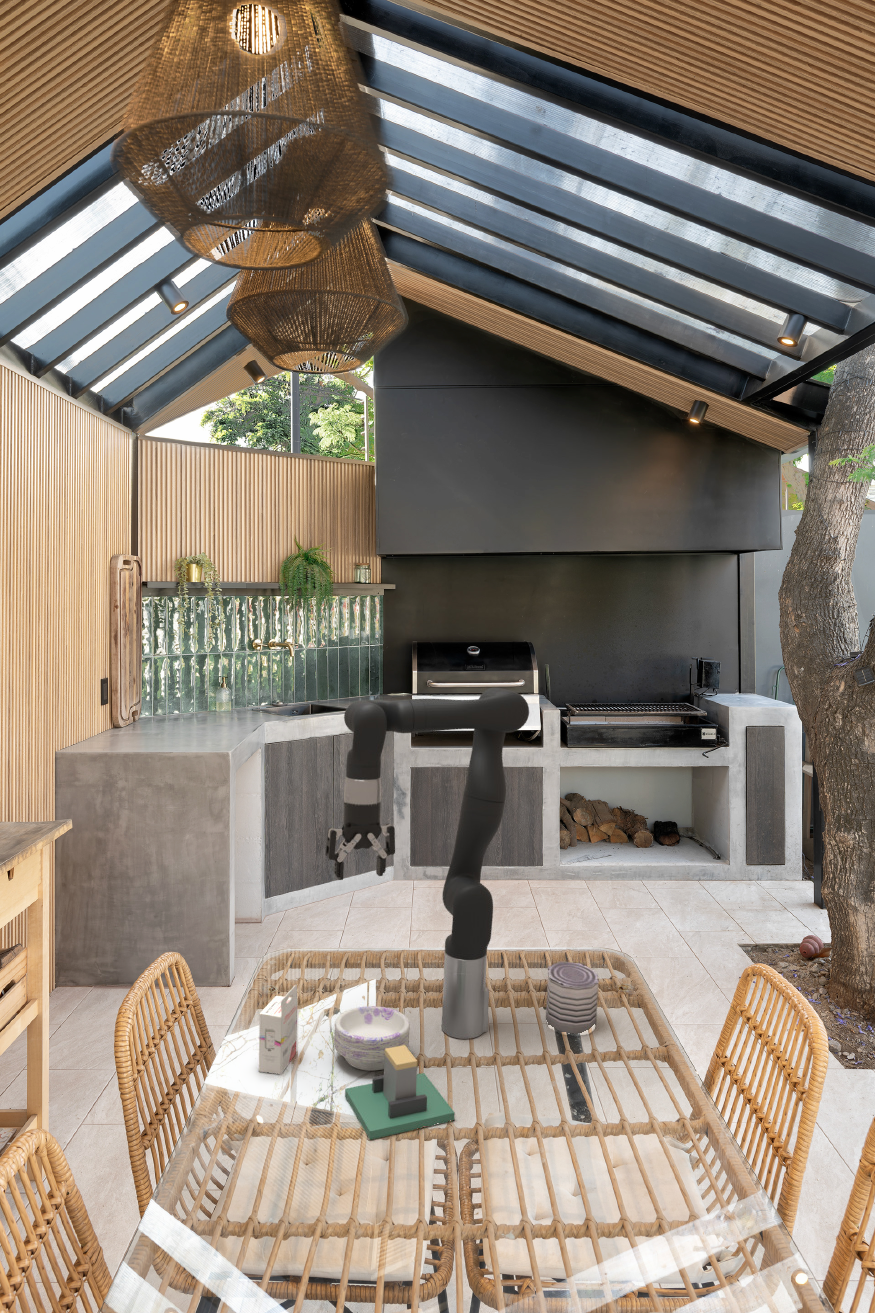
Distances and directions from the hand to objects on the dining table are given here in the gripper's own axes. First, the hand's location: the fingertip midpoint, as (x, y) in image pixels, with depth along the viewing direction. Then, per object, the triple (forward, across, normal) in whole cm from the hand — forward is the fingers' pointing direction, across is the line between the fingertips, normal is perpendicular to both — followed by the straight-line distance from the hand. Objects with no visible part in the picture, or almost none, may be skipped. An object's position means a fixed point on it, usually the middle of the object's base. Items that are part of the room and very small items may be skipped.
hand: (359, 877), depth 174 cm
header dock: (+36, -1, +23) cm, 43 cm away
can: (+36, -49, +6) cm, 61 cm away
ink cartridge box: (+36, +16, 0) cm, 40 cm away
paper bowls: (+36, -2, +5) cm, 37 cm away
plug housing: (+35, -1, +23) cm, 42 cm away
